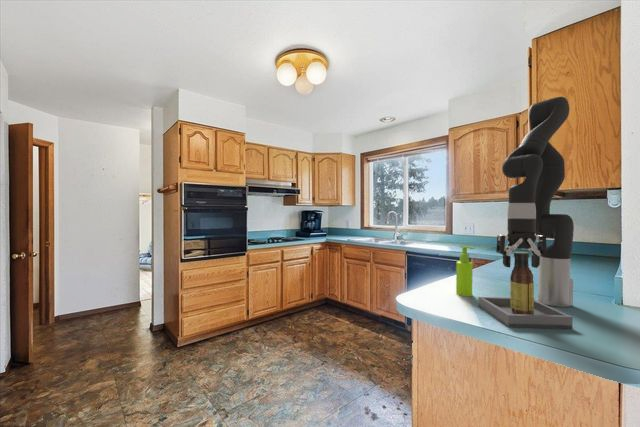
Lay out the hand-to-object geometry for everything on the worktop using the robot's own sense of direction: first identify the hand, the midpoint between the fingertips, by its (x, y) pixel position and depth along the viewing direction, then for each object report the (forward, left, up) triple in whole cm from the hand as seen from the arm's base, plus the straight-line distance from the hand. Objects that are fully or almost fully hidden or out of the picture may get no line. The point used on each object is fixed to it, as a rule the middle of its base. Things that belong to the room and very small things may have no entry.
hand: (520, 267), depth 92 cm
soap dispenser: (+7, -24, -16) cm, 30 cm away
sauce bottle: (0, 0, -15) cm, 15 cm away
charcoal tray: (0, 0, -16) cm, 16 cm away
